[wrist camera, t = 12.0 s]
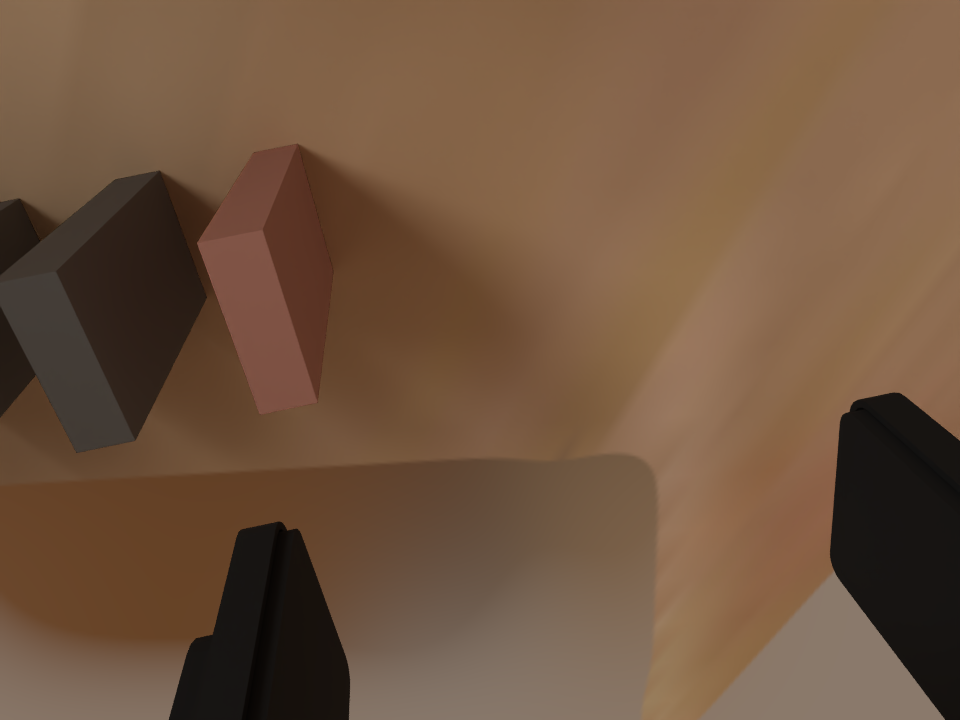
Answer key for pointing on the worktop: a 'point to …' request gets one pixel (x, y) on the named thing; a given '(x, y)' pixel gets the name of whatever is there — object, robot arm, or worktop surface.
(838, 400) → the worktop surface
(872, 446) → the robot arm
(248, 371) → the domino
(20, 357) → the domino
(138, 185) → the domino
